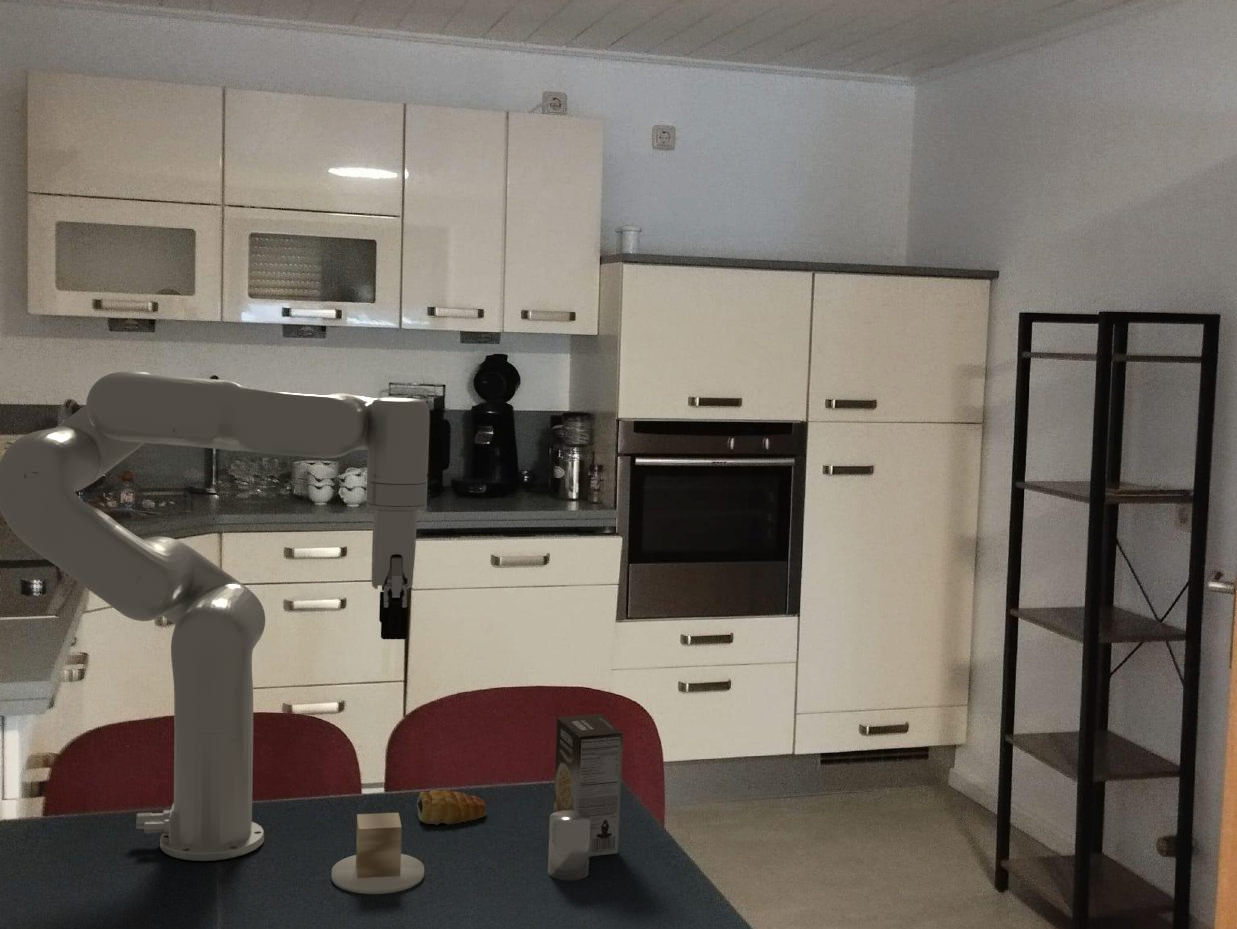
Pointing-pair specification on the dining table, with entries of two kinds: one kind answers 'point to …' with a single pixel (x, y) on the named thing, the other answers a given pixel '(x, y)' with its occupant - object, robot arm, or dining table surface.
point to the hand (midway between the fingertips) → (392, 630)
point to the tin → (569, 845)
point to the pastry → (449, 807)
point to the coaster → (348, 879)
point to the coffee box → (590, 776)
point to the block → (378, 845)
